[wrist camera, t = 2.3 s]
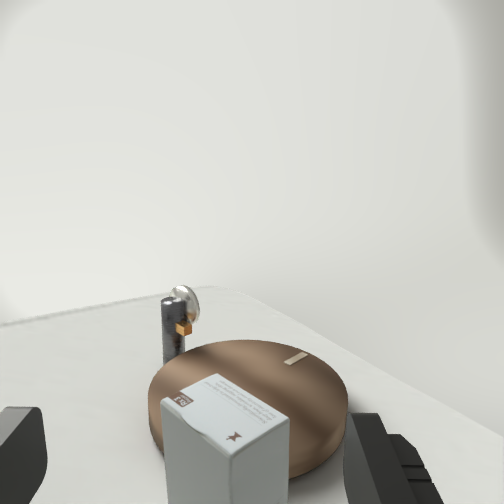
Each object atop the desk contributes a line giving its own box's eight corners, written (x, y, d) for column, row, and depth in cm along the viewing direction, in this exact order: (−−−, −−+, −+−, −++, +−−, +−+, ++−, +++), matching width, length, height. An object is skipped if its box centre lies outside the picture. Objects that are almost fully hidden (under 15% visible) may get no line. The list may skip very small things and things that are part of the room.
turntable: (248, 529, 29) (249, 498, 28) (110, 406, 41) (109, 383, 40) (382, 410, 41) (385, 386, 40) (247, 343, 53) (247, 324, 52)
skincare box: (289, 593, 26) (300, 415, 22) (231, 654, 22) (234, 459, 19) (220, 524, 30) (221, 367, 26) (164, 568, 27) (157, 396, 23)
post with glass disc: (202, 370, 48) (201, 292, 46) (179, 381, 46) (177, 300, 44) (176, 354, 51) (174, 280, 49) (154, 363, 49) (150, 287, 47)
